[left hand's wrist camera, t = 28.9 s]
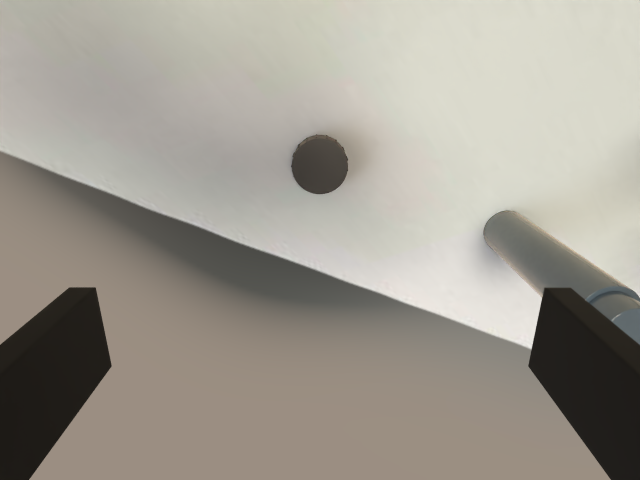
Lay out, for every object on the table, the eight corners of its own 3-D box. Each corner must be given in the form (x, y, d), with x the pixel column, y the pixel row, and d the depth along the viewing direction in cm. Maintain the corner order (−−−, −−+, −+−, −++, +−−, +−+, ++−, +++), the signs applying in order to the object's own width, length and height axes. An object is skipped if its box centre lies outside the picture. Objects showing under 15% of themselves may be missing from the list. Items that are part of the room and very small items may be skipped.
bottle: (475, 237, 43) (580, 344, 25) (502, 202, 41) (633, 291, 24) (507, 257, 43) (631, 375, 26) (535, 224, 42) (684, 324, 25)
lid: (353, 179, 41) (355, 185, 38) (302, 195, 41) (301, 201, 39) (338, 127, 39) (339, 130, 37) (285, 144, 40) (283, 148, 37)
